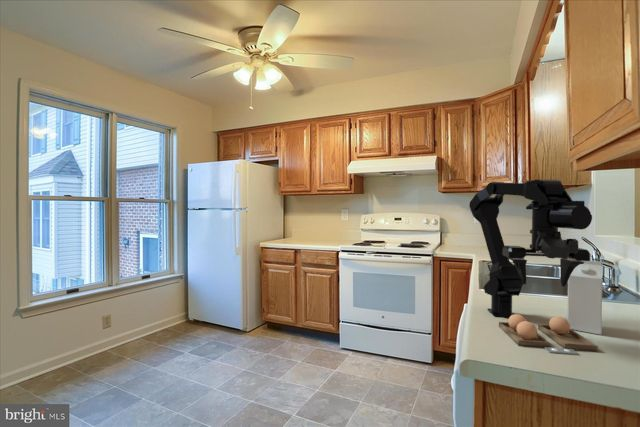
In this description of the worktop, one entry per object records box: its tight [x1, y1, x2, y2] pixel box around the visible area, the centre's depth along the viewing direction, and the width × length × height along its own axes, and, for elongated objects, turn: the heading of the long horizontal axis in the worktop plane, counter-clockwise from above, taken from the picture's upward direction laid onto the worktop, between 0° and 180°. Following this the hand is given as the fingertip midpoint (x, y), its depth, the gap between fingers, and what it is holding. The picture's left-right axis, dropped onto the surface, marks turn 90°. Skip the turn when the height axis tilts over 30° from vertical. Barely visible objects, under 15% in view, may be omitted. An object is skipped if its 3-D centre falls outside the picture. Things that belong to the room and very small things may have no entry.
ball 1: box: [507, 313, 527, 331], centre depth 86 cm, size 4×4×4 cm
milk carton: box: [566, 260, 603, 335], centre depth 89 cm, size 7×7×19 cm
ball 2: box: [517, 321, 538, 340], centre depth 80 cm, size 4×4×4 cm
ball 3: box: [548, 316, 570, 334], centre depth 84 cm, size 4×4×4 cm
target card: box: [543, 346, 580, 356], centre depth 74 cm, size 2×6×1 cm, turn 80°
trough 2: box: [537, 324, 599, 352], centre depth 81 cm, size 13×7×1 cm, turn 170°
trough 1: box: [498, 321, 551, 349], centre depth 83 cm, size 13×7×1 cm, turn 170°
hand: (543, 285), depth 86 cm, fingers open, 9 cm apart
